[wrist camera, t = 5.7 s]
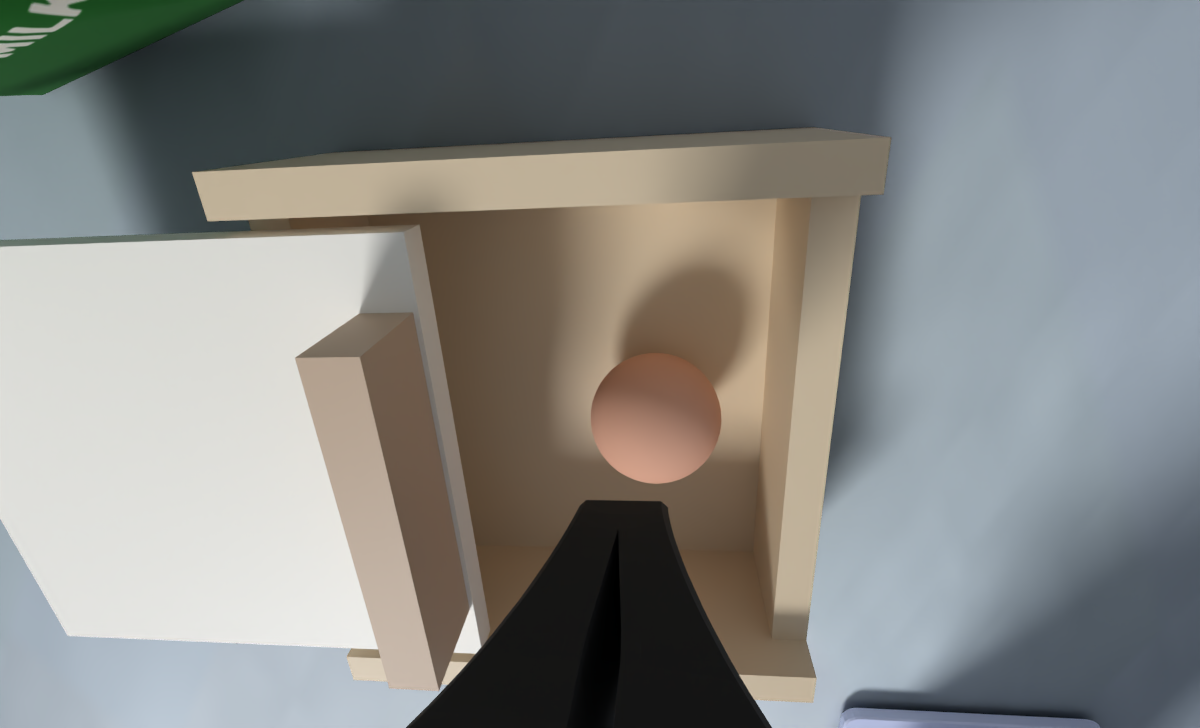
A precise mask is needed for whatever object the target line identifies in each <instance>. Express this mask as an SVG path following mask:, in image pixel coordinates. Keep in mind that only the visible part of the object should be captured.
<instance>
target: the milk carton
mask: <svg viewBox="0 0 1200 728" xmlns="http://www.w3.org/2000/svg"><path fill="white" fill-rule="evenodd" d="M241 1H243V0H0V96H13V95H44V94H46V93H48V92H50V91H52V90H54V89H57V88H59V87H61V86H63V85H65V84H67V83H69V82H71V81H74V80H76V79H78V78H80V77H82V76H84V75H86V74H88V73H91V72H93V71H95V70H97V69H99V68H101V67H103V66H105V65H108V64H110V63H112V62H114V61H116V60H118V59H120V58H122V57H125V56H127V55H129V54H131V53H133V52H135V51H137V50H139V49H142V48H144V47H146V46H148V45H150V44H152V43H154V42H156V41H159V40H161V39H163V38H165V37H167V36H169V35H171V34H173V33H175V32H178V31H180V30H182V29H184V28H186V27H188V26H190V25H192V24H195V23H197V22H199V21H201V20H203V19H205V18H207V17H209V16H212V15H214V14H216V13H218V12H220V11H222V10H224V9H226V8H229V7H231V6H233V5H235V4H237V3H239V2H241Z"/></svg>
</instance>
